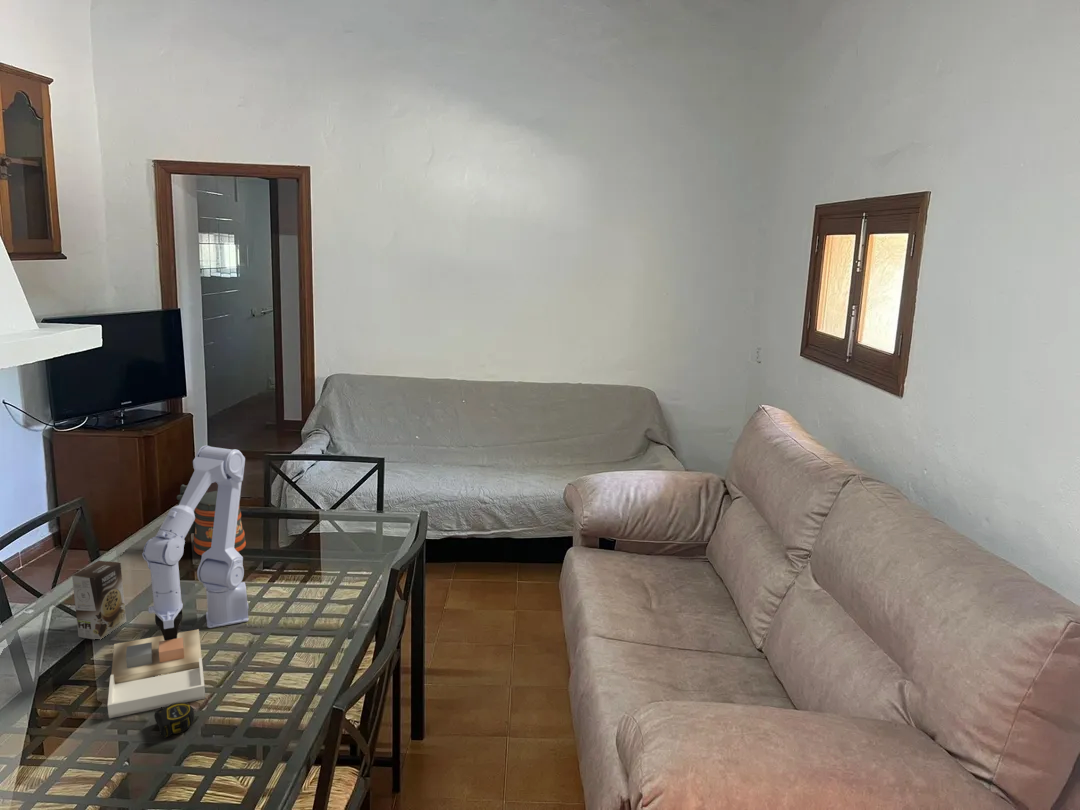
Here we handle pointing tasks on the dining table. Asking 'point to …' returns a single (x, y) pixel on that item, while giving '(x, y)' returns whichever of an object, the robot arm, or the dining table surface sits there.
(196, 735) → the dining table surface
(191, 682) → the box
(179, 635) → the deck
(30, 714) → the dining table surface
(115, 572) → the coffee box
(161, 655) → the tile terracotta
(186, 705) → the tape measure
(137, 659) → the tile slate
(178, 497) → the beer stein
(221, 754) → the dining table surface
